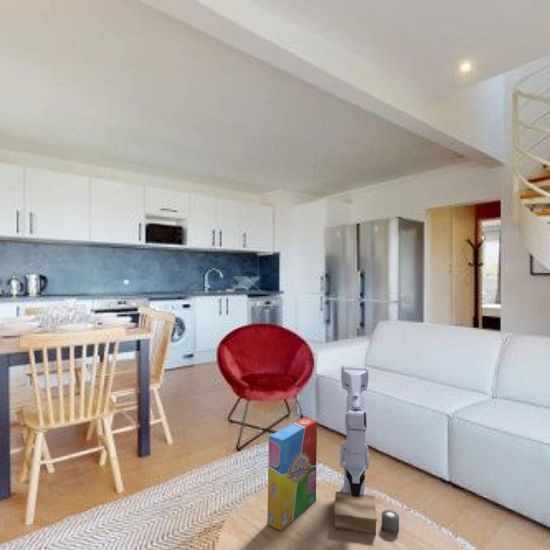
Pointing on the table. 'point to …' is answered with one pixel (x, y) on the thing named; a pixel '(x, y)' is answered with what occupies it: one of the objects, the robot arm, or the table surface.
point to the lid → (355, 506)
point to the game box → (291, 472)
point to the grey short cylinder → (390, 521)
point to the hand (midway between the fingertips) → (355, 494)
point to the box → (355, 525)
